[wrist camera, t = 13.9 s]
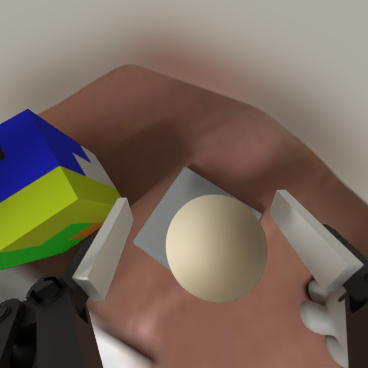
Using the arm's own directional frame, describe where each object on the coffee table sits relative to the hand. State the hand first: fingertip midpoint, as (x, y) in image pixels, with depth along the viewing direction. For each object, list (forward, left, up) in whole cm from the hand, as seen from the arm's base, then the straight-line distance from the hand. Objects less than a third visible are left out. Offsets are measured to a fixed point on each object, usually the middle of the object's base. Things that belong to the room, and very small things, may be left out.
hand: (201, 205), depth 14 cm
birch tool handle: (+1, -2, -6) cm, 7 cm away
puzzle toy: (-15, -8, -8) cm, 18 cm away
